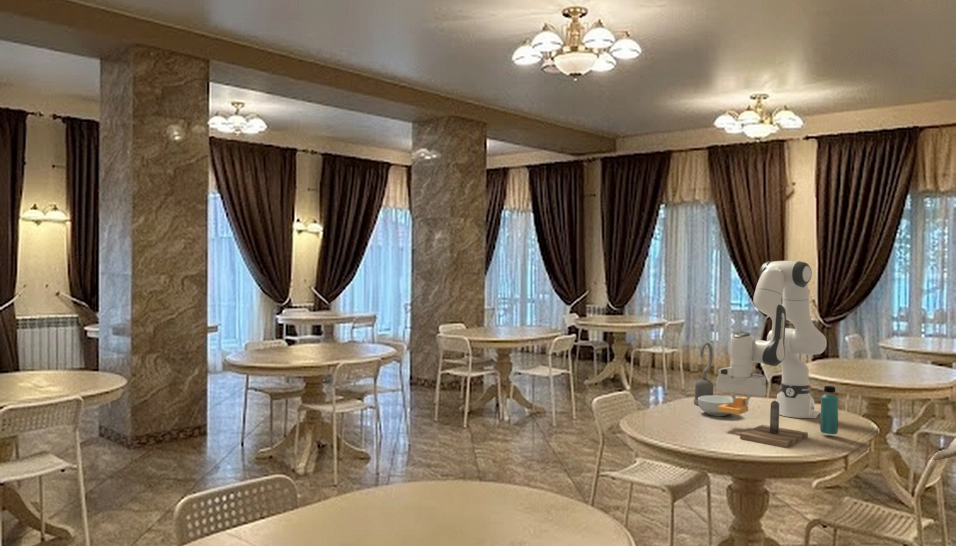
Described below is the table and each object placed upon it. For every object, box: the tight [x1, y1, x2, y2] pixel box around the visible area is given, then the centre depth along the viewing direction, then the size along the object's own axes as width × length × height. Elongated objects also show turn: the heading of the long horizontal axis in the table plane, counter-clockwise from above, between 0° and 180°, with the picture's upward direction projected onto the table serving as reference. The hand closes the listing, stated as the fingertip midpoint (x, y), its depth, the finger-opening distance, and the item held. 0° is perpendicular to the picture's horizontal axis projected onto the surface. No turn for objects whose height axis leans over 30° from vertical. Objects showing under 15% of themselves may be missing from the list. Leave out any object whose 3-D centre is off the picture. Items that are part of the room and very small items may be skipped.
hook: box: [693, 341, 714, 406], centre depth 346 cm, size 10×12×30 cm
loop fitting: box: [718, 396, 749, 415], centre depth 298 cm, size 15×9×4 cm, turn 137°
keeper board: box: [739, 400, 809, 448], centre depth 282 cm, size 22×18×15 cm
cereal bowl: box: [697, 395, 734, 417], centre depth 324 cm, size 17×17×7 cm
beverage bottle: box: [819, 385, 839, 435], centre depth 287 cm, size 6×7×20 cm
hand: (740, 404), depth 302 cm, fingers closed on loop fitting, 3 cm apart
